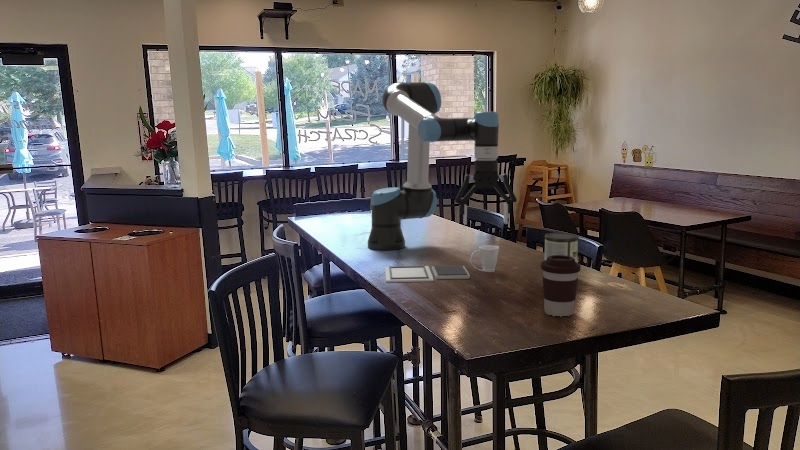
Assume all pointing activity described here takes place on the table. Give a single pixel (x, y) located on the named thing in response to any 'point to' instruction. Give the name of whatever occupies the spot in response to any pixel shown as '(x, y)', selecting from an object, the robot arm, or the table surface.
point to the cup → (487, 257)
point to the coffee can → (561, 244)
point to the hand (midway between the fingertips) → (485, 223)
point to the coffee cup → (559, 284)
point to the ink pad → (450, 272)
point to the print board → (408, 274)
